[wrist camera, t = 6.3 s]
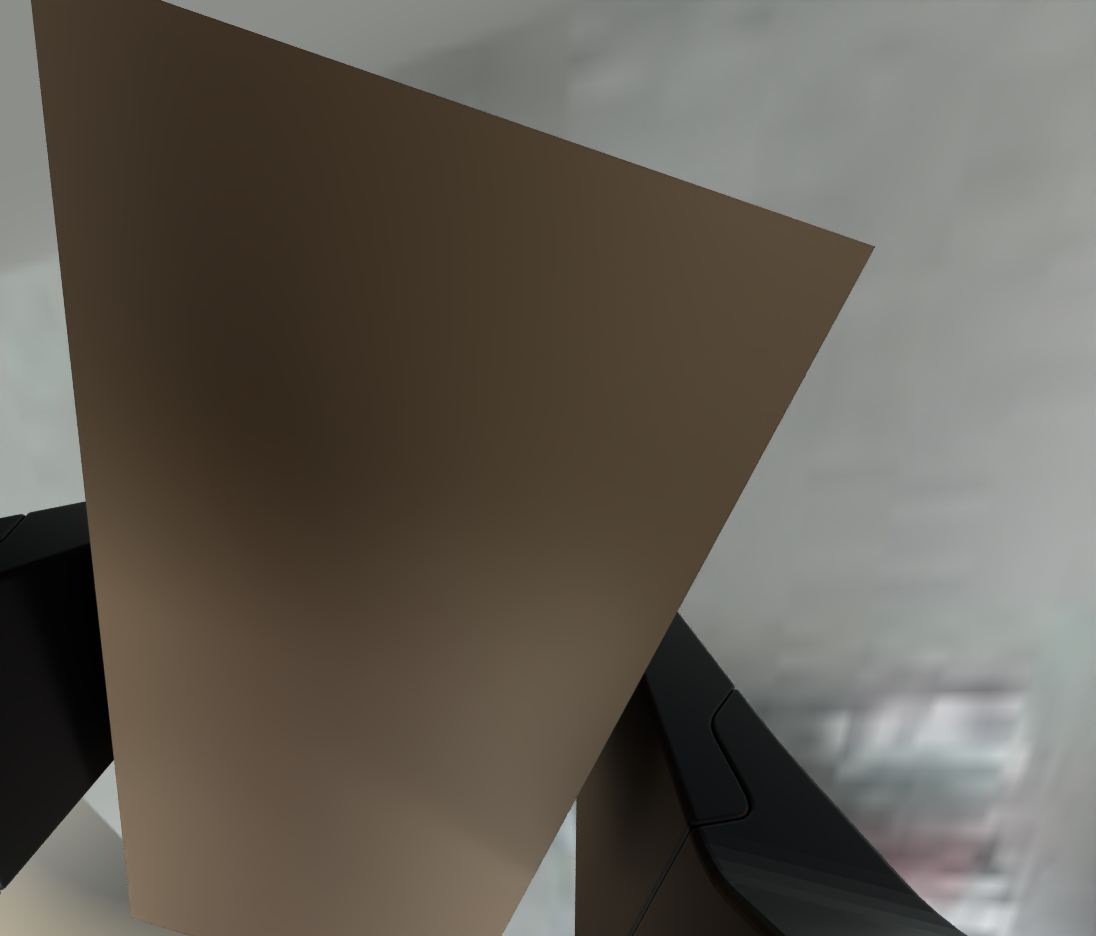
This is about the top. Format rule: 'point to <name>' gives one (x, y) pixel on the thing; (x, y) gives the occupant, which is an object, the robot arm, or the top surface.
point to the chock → (384, 459)
